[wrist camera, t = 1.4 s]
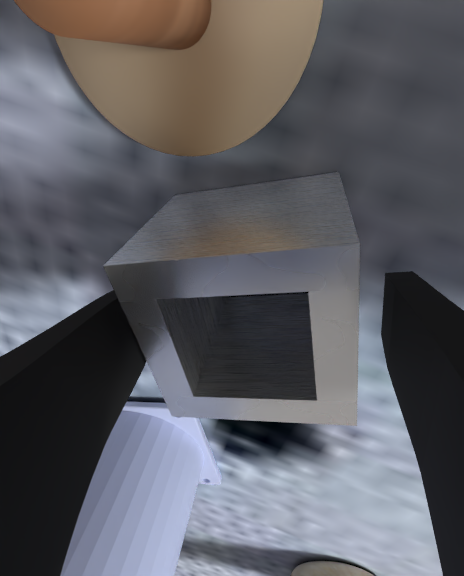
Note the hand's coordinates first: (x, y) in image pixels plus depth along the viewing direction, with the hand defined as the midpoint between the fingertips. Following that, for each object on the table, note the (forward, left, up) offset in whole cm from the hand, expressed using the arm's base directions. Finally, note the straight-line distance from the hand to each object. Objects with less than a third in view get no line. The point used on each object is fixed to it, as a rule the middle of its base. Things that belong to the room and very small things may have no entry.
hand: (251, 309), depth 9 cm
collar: (0, 0, -3) cm, 3 cm away
